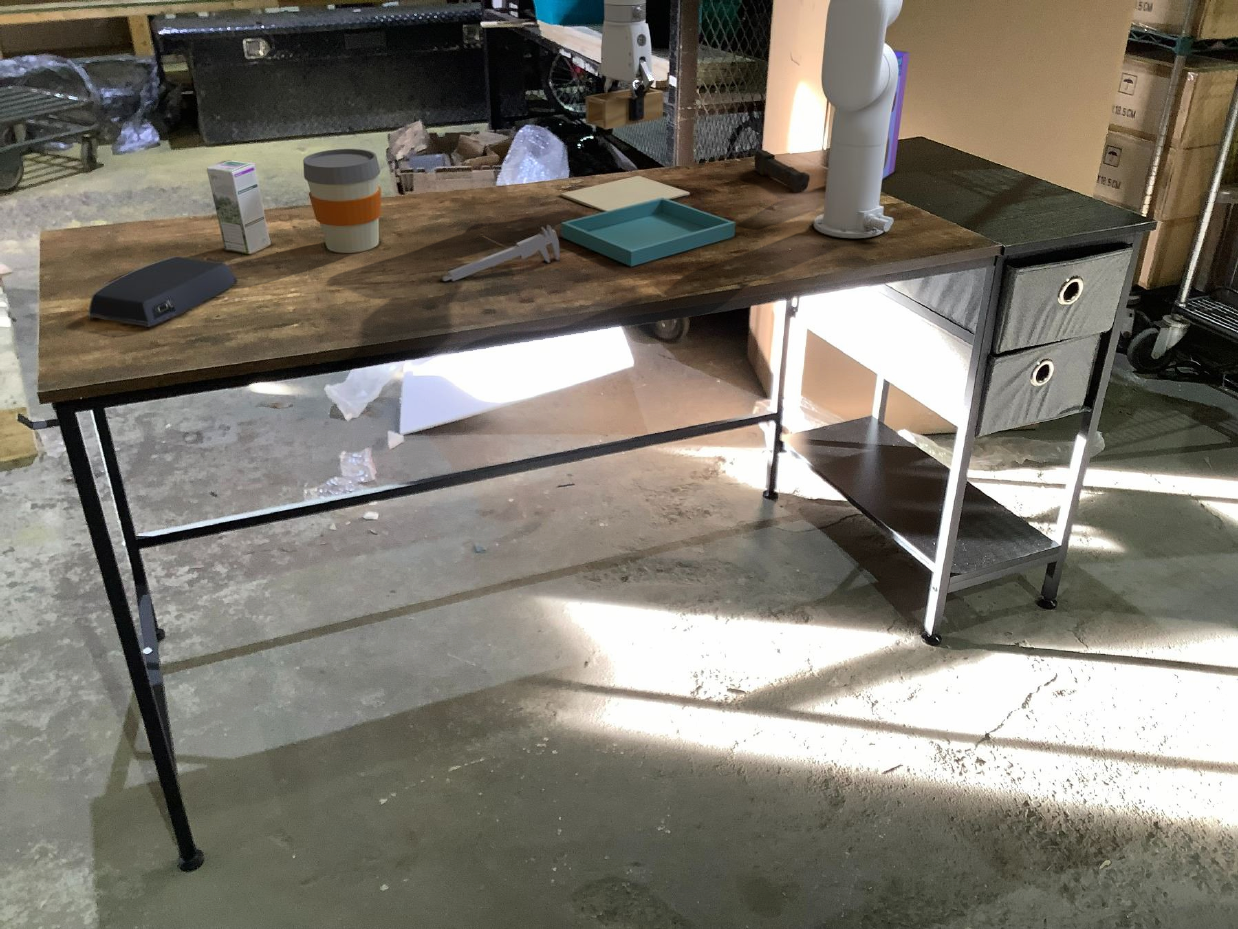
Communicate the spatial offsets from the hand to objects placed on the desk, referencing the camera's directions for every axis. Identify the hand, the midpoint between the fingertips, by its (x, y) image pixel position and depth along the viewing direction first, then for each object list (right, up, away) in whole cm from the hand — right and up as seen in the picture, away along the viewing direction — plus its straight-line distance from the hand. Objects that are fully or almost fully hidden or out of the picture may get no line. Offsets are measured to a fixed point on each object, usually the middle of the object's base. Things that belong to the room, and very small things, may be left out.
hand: (625, 115), depth 194 cm
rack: (0, -1, 0) cm, 1 cm away
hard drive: (-71, -42, -37) cm, 90 cm away
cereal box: (+50, -8, +17) cm, 53 cm away
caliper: (-20, -35, -27) cm, 48 cm away
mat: (0, -13, +9) cm, 16 cm away
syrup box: (-66, -29, -16) cm, 74 cm away
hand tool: (+31, -8, +17) cm, 36 cm away
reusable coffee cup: (-48, -28, -15) cm, 57 cm away
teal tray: (+4, -26, -13) cm, 30 cm away
